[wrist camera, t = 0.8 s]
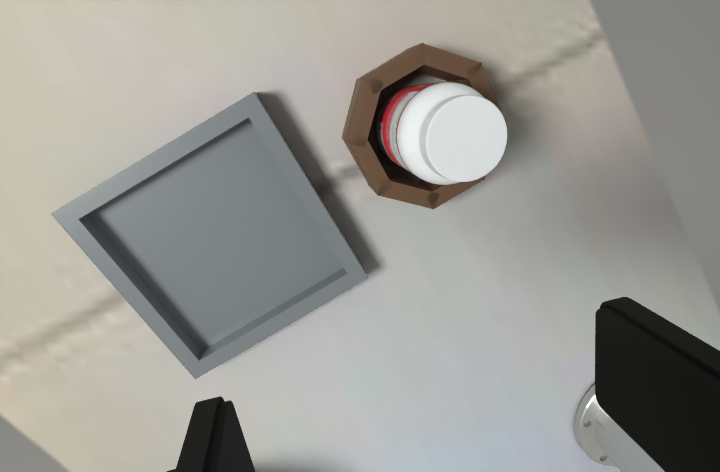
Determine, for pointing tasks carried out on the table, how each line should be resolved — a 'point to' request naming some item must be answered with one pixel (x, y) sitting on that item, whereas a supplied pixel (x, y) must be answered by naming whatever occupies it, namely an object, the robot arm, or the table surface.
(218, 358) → the tray
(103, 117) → the table surface
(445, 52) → the holder ring
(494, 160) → the pill bottle
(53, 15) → the table surface
